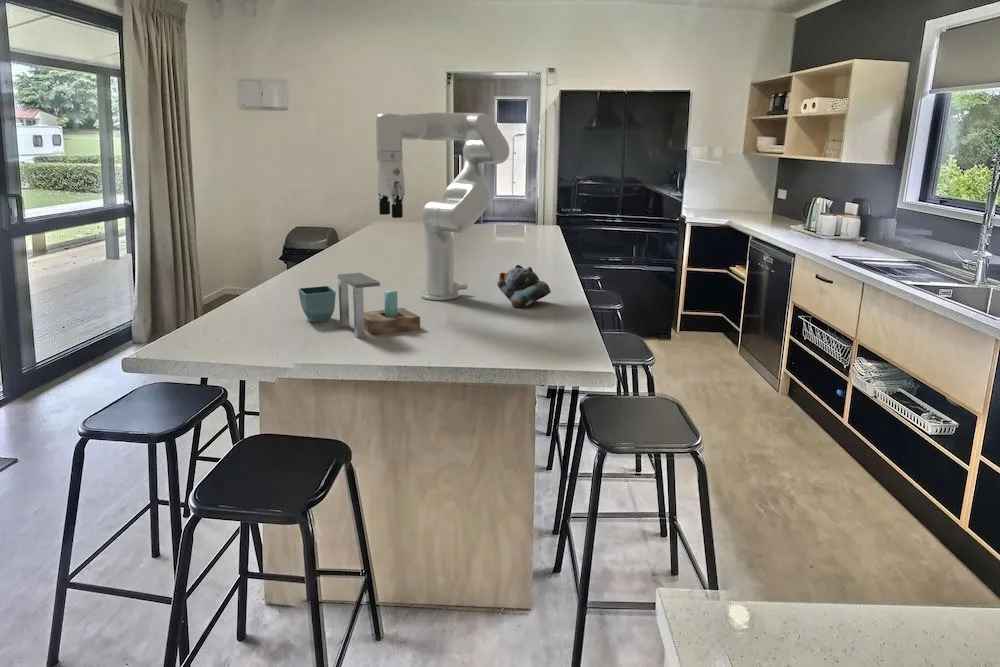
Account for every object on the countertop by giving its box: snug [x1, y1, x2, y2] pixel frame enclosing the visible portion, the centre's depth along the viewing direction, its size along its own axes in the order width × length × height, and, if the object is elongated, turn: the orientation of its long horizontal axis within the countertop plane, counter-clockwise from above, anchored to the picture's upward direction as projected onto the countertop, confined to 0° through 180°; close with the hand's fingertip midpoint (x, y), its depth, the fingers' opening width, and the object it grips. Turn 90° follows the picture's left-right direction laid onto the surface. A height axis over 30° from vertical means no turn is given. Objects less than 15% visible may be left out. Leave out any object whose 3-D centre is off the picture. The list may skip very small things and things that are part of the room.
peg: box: [383, 289, 399, 318], centre depth 199 cm, size 4×4×10 cm
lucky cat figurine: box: [496, 264, 552, 309], centre depth 229 cm, size 15×12×14 cm
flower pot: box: [297, 285, 336, 324], centre depth 204 cm, size 9×9×9 cm
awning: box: [337, 272, 381, 339], centre depth 193 cm, size 6×15×14 cm, turn 31°
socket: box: [364, 307, 421, 336], centre depth 199 cm, size 14×12×4 cm
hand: (390, 216), depth 214 cm, fingers open, 9 cm apart
